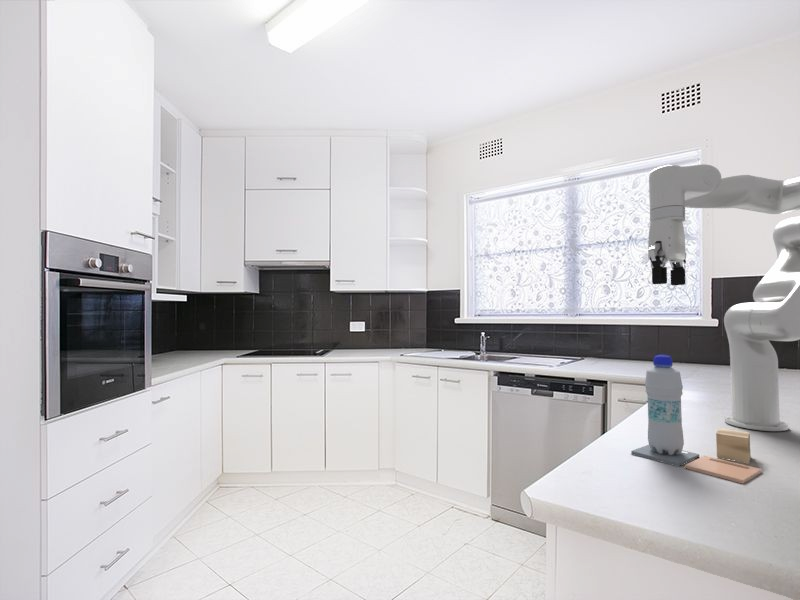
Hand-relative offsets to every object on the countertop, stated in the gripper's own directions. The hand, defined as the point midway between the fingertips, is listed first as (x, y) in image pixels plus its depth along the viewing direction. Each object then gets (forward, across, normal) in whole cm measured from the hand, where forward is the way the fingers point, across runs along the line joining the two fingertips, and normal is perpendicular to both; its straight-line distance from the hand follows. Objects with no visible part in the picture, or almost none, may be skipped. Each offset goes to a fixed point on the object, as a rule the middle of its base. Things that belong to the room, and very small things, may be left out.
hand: (669, 284), depth 107 cm
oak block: (+36, +11, +16) cm, 41 cm away
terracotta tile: (+36, +21, +18) cm, 45 cm away
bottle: (+36, +21, +8) cm, 42 cm away
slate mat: (+36, +21, +8) cm, 43 cm away
